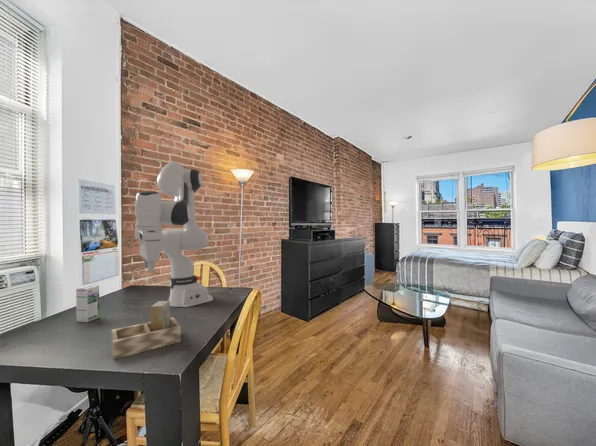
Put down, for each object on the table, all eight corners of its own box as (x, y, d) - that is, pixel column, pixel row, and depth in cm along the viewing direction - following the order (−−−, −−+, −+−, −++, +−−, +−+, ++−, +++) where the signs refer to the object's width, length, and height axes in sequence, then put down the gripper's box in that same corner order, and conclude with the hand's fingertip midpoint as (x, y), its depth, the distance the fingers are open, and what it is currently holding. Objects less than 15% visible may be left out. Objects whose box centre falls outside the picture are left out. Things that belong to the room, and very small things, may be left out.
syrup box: (86, 322, 110) (87, 288, 110) (75, 321, 111) (75, 287, 111) (99, 317, 115) (99, 285, 115) (89, 316, 117) (89, 284, 117)
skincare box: (158, 333, 96) (158, 300, 96) (170, 332, 96) (170, 300, 96) (150, 341, 89) (150, 306, 89) (163, 340, 90) (163, 305, 90)
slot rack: (173, 331, 101) (173, 317, 101) (180, 341, 92) (180, 326, 92) (111, 345, 89) (111, 329, 89) (113, 359, 80) (113, 341, 80)
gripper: (135, 232, 104) (135, 266, 104) (143, 235, 88) (143, 276, 88) (153, 232, 108) (153, 264, 108) (163, 235, 92) (163, 273, 92)
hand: (148, 270), depth 98 cm, fingers open, 8 cm apart
